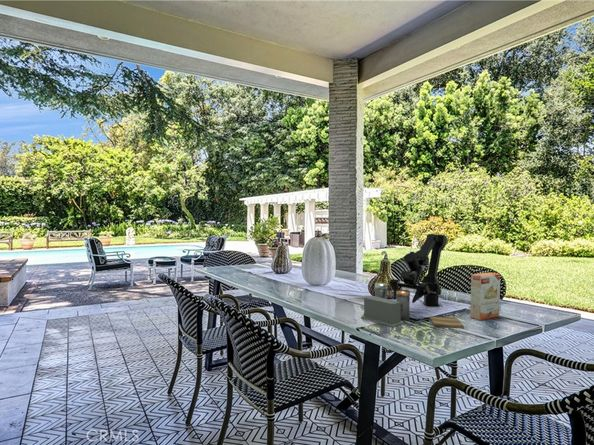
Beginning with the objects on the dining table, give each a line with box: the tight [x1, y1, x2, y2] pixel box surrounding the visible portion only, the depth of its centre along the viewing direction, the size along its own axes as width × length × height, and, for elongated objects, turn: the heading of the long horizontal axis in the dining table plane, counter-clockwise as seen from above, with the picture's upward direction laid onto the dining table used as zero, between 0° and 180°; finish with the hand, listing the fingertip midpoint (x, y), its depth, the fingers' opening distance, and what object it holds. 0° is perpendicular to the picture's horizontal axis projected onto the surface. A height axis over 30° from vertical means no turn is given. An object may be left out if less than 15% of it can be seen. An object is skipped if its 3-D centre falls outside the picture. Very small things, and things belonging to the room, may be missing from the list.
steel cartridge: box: [374, 282, 388, 299], centre depth 193 cm, size 6×6×13 cm
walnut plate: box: [428, 316, 465, 329], centre depth 168 cm, size 12×12×1 cm
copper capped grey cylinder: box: [395, 289, 411, 321], centre depth 176 cm, size 6×6×13 cm
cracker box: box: [469, 272, 501, 321], centre depth 177 cm, size 14×6×21 cm, turn 117°
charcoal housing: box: [360, 295, 405, 328], centre depth 172 cm, size 8×18×10 cm, turn 41°
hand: (403, 301), depth 176 cm, fingers open, 9 cm apart
